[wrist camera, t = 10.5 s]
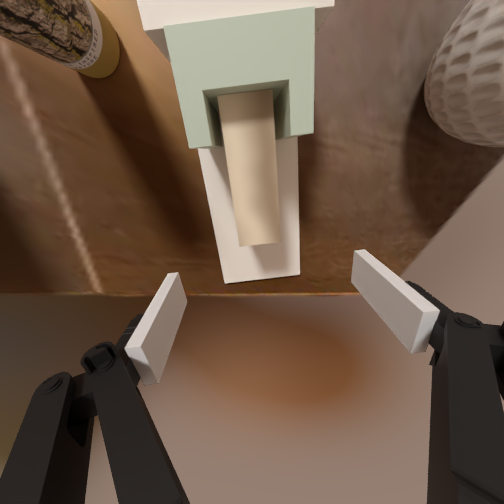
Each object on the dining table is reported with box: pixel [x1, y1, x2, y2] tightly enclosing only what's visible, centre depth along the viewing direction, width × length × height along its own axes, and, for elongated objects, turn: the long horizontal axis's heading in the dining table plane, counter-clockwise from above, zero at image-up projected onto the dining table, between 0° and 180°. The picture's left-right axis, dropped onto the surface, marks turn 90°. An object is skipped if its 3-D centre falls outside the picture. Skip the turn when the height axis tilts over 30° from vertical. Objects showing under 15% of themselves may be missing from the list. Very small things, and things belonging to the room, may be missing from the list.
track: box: [137, 0, 334, 283], centre depth 27 cm, size 14×34×13 cm, turn 6°
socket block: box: [163, 6, 315, 149], centre depth 23 cm, size 11×8×12 cm
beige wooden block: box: [217, 89, 281, 247], centre depth 27 cm, size 5×15×10 cm, turn 6°
